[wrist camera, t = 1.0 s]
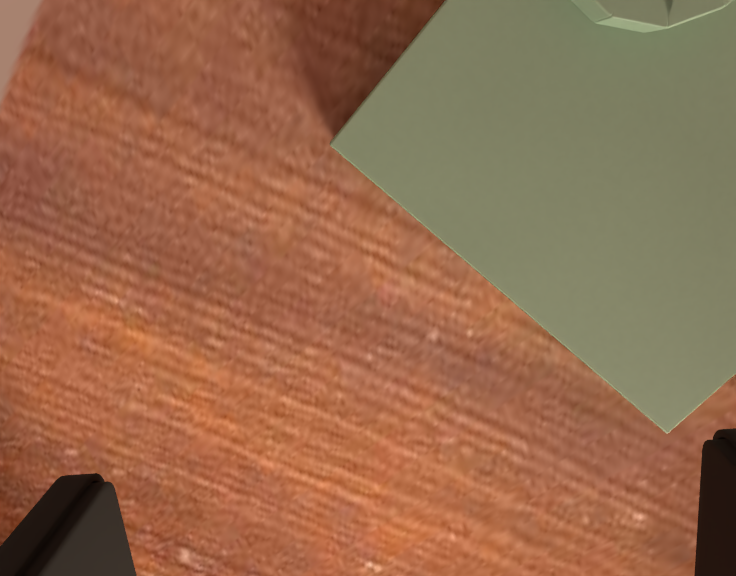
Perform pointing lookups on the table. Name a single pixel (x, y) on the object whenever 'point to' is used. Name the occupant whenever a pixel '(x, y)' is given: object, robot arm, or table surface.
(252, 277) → the table surface
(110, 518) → the robot arm
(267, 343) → the table surface
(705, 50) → the scale
